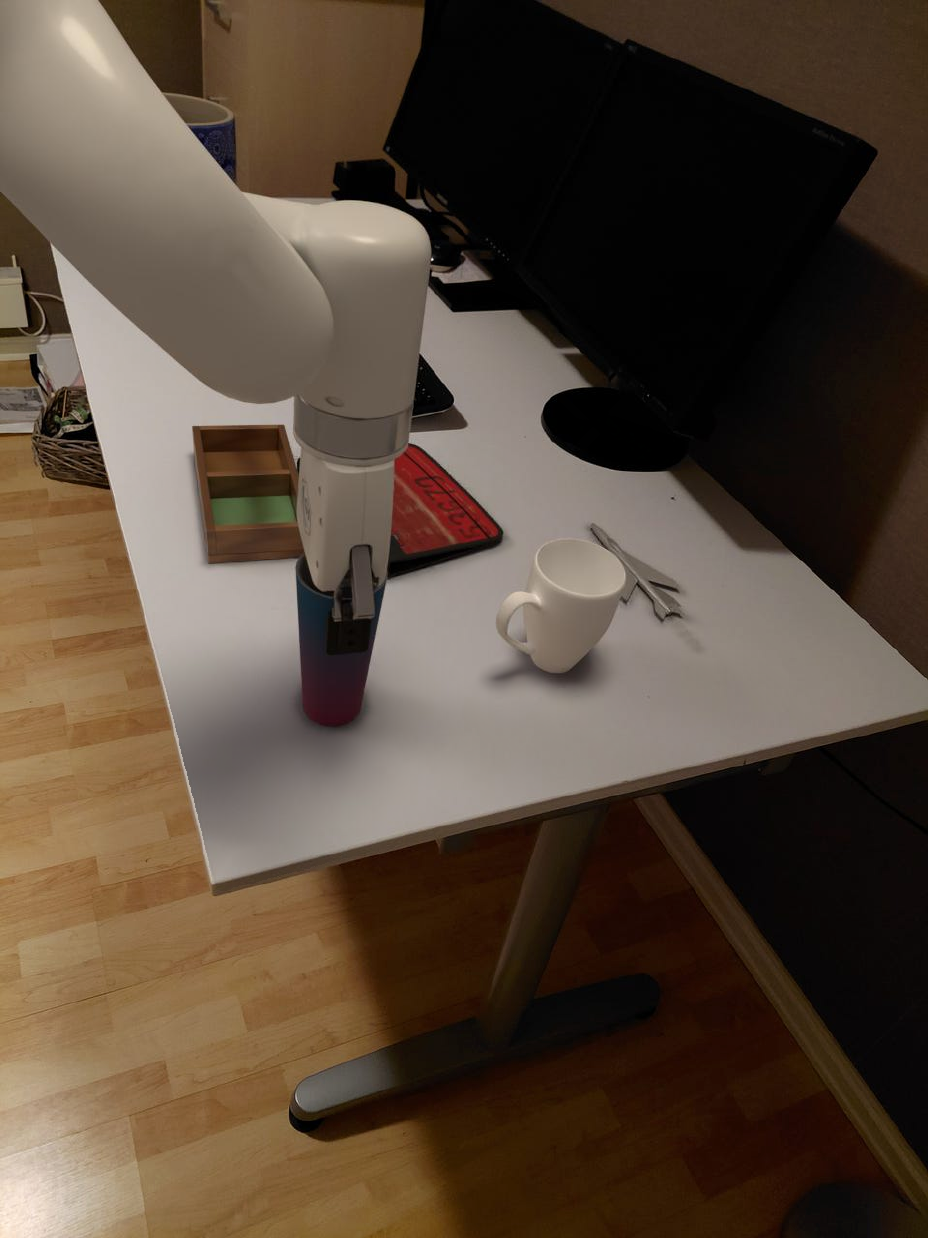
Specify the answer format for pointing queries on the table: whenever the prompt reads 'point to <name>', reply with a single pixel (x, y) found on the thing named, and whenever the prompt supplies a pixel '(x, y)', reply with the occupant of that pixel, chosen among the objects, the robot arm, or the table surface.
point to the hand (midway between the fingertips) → (338, 618)
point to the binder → (432, 515)
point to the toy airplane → (642, 577)
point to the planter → (210, 128)
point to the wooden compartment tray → (247, 492)
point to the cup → (329, 678)
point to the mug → (565, 602)
